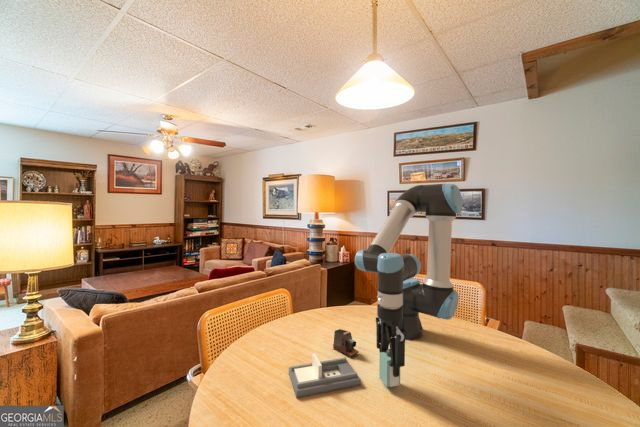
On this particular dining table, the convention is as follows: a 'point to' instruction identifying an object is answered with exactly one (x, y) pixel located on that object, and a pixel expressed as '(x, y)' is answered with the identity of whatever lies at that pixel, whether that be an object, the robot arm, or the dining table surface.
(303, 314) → the dining table surface
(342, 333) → the electronic device
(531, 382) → the dining table surface
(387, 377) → the teal bottle
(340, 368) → the socket board
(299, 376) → the shutter
